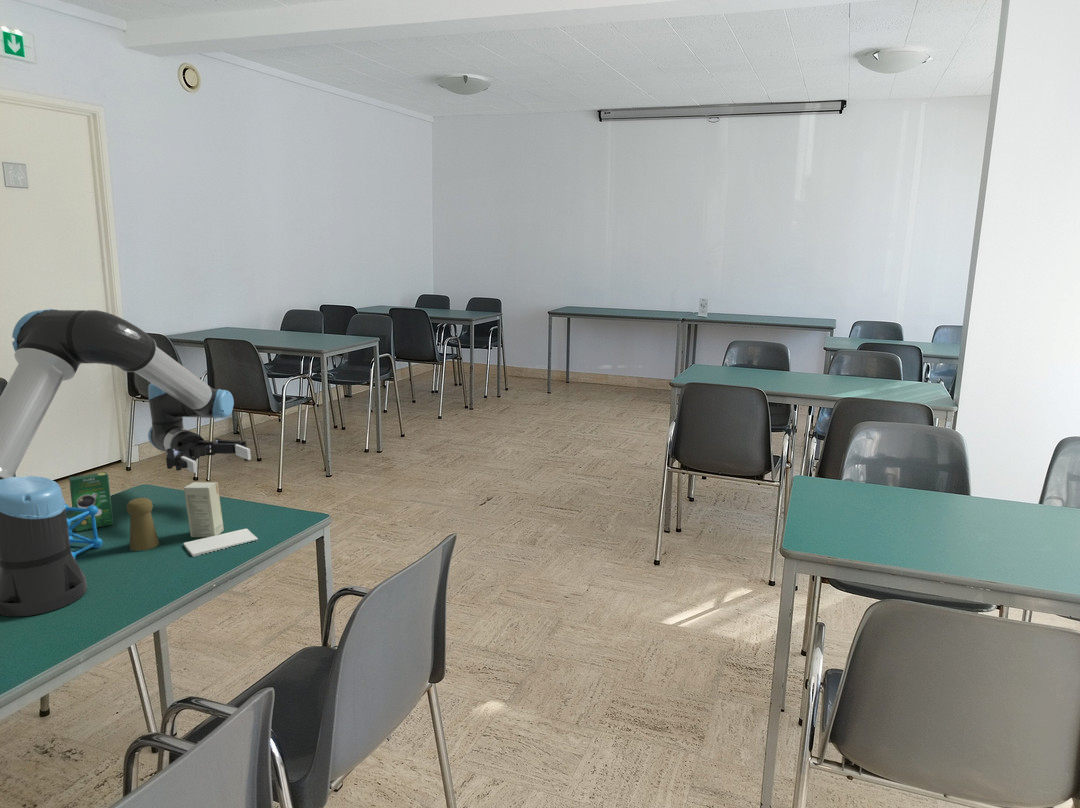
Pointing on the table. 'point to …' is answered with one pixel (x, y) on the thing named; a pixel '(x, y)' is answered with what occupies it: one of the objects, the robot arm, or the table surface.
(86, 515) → the molecular structure
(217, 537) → the mat
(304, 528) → the table surface
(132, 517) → the cork
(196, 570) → the table surface
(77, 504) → the coffee box
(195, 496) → the skincare box
